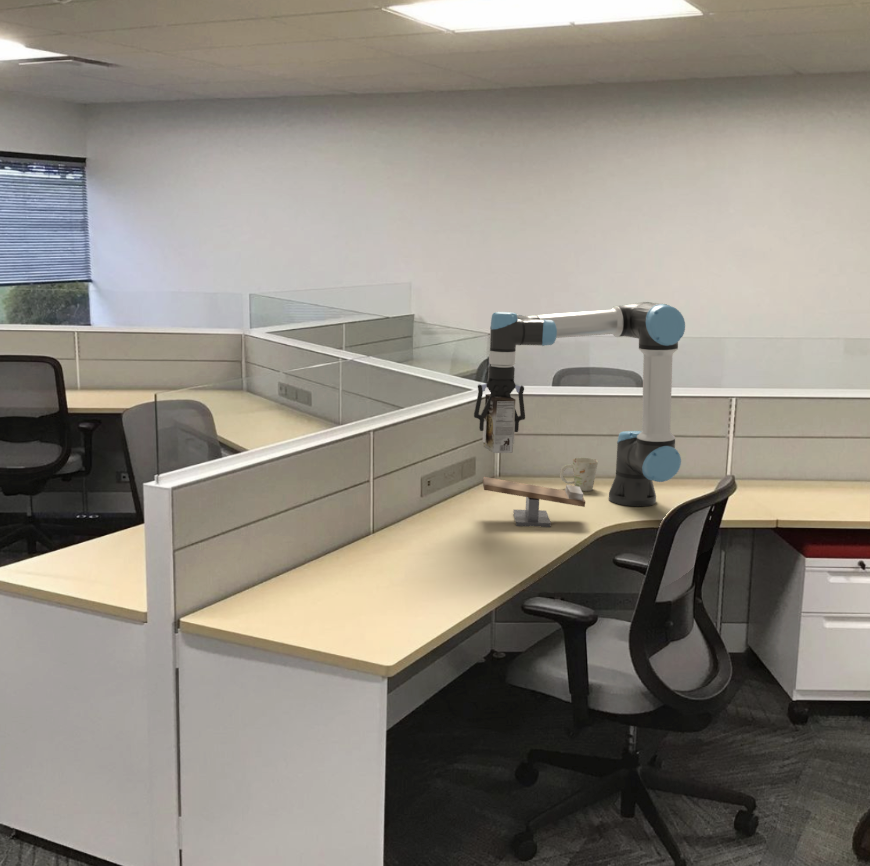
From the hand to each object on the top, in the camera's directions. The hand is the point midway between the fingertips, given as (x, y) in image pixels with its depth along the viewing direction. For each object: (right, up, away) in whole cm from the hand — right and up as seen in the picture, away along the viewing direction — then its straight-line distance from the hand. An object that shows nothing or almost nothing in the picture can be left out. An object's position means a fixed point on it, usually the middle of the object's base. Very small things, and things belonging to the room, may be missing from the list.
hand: (498, 442), depth 297 cm
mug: (+30, -16, +44) cm, 56 cm away
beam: (+10, -16, +2) cm, 19 cm away
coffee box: (0, -3, +1) cm, 3 cm away
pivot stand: (+10, -23, +4) cm, 26 cm away
